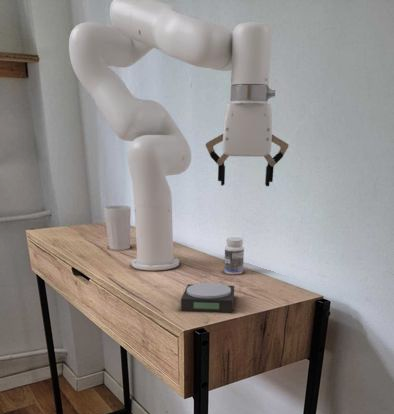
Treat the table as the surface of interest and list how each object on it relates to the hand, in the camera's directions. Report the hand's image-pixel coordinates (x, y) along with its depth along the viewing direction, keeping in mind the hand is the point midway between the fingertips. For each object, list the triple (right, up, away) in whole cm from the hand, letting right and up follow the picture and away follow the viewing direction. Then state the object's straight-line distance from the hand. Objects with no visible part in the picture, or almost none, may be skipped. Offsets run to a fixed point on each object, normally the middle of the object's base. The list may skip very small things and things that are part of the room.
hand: (244, 185), depth 105 cm
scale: (-8, -26, -5) cm, 28 cm away
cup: (-34, -5, +43) cm, 55 cm away
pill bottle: (-1, -16, +17) cm, 24 cm away
